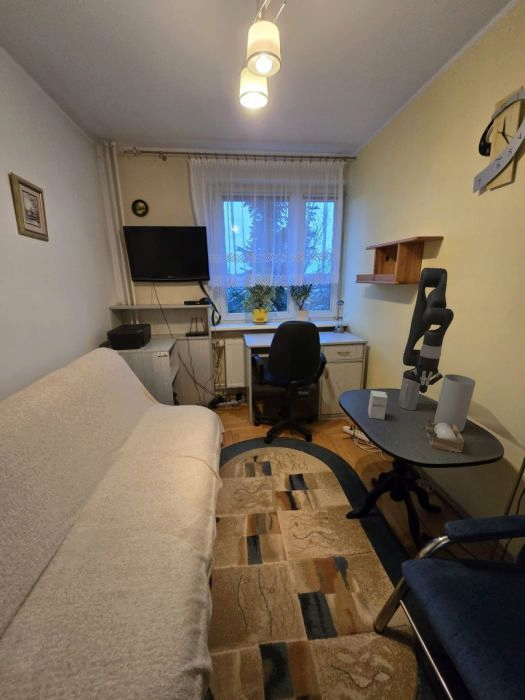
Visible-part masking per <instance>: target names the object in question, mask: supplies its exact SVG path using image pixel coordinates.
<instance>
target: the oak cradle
mask: <svg viewBox="0 0 525 700" xmlns="http://www.w3.org/2000/svg"><path fill="white" fill-rule="evenodd" d="M426 421H427V422H426V426H425V431H424V432H425V434H426V436H427V440H428V442H429V444H430V447H431V448H432V449H436V450H441V451H442V450H443V451H446V450H448V451H447V452H452V451H455V452H454V453H457V452H462V453H463V449H464V445H465V440H464V437H463V436H462V434H461V431H460V432H459V431H458V429H457V427H456V425H455V424H452V426H450V427H451V429H452V430H453V432H454V434H455V436H456V438H457V440H458V441H456V440H451V439H445V438H440V437H437V434H436V433H435V432H434V427H435V425H437V424H438V423H435V422H432V420H431V419H430V418H427V420H426ZM430 434H433V435H432V438H431V435H430Z"/></svg>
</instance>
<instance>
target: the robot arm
mask: <svg viewBox="0 0 525 700" xmlns="http://www.w3.org/2000/svg"><path fill="white" fill-rule="evenodd" d="M447 286H448V271H447V269H446V268H443V267H424V268H422V270H421V272H420V275H419V280H418V286H417V294H416V300H415V304H414V309H413V313H412V317H411V321H410V327H409V333H408V338H407V341H406V345H405V348H404V351H403V355H402V363H403V366H408V367H414V368H411V369H407V370H404V371H403V375H402V379H401V385H400V391H399V392H400V393H399V397H398V403H397V406H398V407H399V408H401V409H403V410H407V411H415V410H416V409H417V405H418V400H419V395H420V393H421V394H426V393H427V391H428V388H429V386H433V385H435V384H436V383H438V381H440V380H442V379H444V375H443V374H442V373H441V372H439V369H438V368H439V364H440V361H441V356H442V348H443V347H442V346H443V343H444V338H445V335H446V333H447V331H448V329H449V327H450V325H451V324H452V322H453V320H454V316H455V315H454V314H455V313H454V311H453V310H452V309H450V308H447V306H448V305H447V298H446V294H447ZM427 288H430V289H431V288H433V289H432V290H431V291H430V292H429V293H428V295H426V289H427ZM432 326H439V327H438V328H436V329H431V327H432ZM422 337H423V341H422V344H421V348H420V349H415V346H416V344H417V343H418V342H419V341H420V340H421V339H422Z"/></svg>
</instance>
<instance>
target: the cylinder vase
mask: <svg viewBox="0 0 525 700" xmlns="http://www.w3.org/2000/svg"><path fill="white" fill-rule="evenodd" d="M476 383H477V382H476V380H475V379H473V378H471V377H468V376H466V375H461V374H455V373H447V374H444V375H443V378H442V383H441V388H440V394H439V397H438V402H437V407H436V412H435V416H434V421H433V423H446V424H448V425H449V426H452V424H455V425H456V427H457V429H458V431H459V432H460V433H461V432H462V431H464V429H465V426H466V422H467V417H468V414H469V410H470V407H471V406H470V405H471V402H472V399H473V394H474V389H475V387H476Z"/></svg>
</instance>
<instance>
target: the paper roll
mask: <svg viewBox="0 0 525 700" xmlns="http://www.w3.org/2000/svg"><path fill="white" fill-rule="evenodd" d="M434 432H435V433H436V434H437V437H440V438H445V439H451V440H456V441H458V440H457V438H456V436H455V434H454V432H453V430H452V429H451V427H450V426H449V425H448V424H446V423H438V424H437V425H435V427H434Z"/></svg>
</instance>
